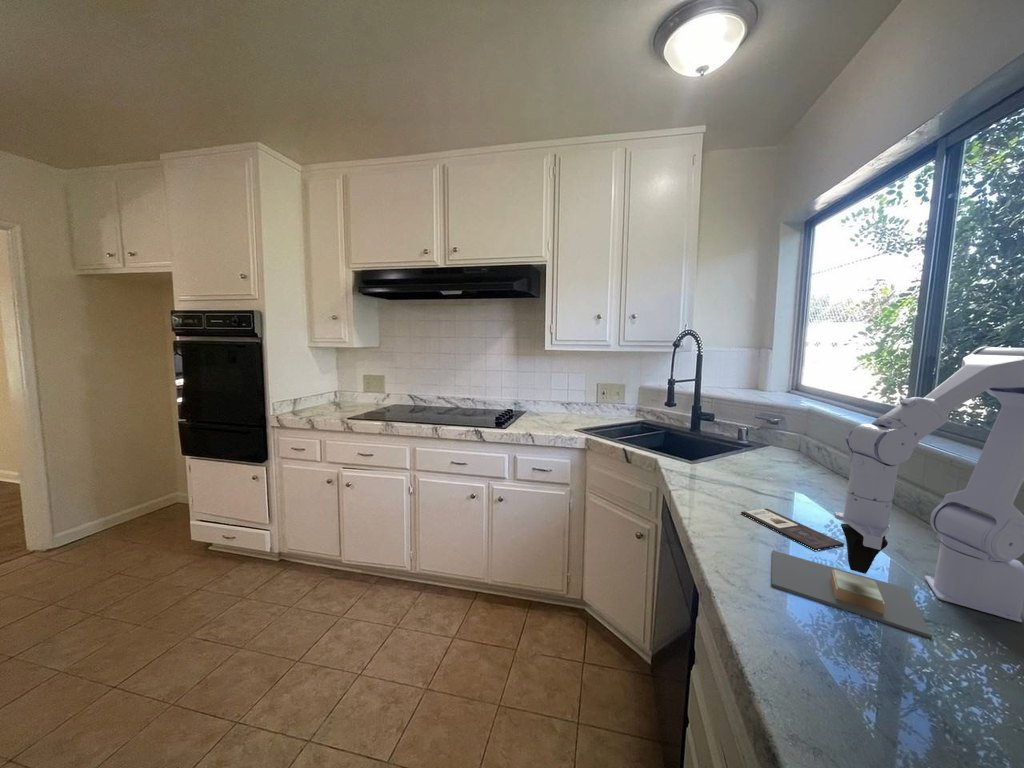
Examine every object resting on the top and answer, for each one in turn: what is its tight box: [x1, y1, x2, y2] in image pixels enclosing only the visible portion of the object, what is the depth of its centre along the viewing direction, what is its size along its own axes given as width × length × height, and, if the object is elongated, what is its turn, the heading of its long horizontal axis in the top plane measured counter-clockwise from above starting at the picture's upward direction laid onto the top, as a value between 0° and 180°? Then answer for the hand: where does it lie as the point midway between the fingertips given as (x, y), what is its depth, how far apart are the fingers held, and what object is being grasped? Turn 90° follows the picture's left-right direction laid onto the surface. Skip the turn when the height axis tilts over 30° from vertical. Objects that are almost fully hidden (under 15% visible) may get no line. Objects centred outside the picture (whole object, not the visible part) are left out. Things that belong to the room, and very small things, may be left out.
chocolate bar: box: [740, 508, 845, 551], centre depth 92 cm, size 9×1×18 cm
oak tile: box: [831, 569, 885, 614], centre depth 67 cm, size 6×2×7 cm
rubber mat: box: [771, 550, 933, 639], centre depth 69 cm, size 20×14×1 cm
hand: (857, 570), depth 67 cm, fingers closed
